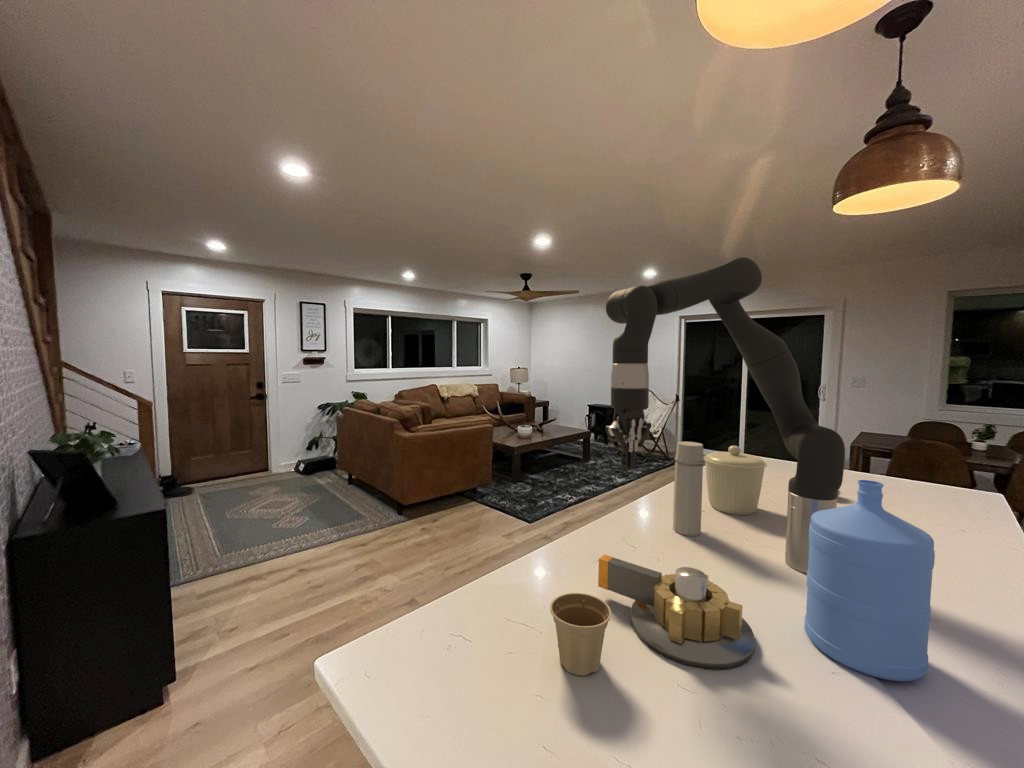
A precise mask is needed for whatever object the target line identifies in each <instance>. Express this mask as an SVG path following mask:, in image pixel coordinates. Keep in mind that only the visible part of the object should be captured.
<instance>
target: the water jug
mask: <svg viewBox="0 0 1024 768" xmlns="http://www.w3.org/2000/svg"><path fill="white" fill-rule="evenodd" d="M857 483H858V489H857V492H856V493H857V494H856V495H857V501H856V503H854V504H852V505H851V504H850V505H845V506H840V507H837V508H833V509H827V510H821V511H817V512H815V513H814V514H813V515H812V516H811V523H810V527H809V540H810V543H809V564H808V571H807V574H806V586H807V590H806V609H805V610H806V612H805V615H804V632H805V634H806V635H807V638H808V639H809V640H810V641H811V643H812V644H814V646H816V648H818V649H819V650H820V651H821V652H822V653H824V654H825V655H826V656H828V657H829V658H830V659H832V660H834V661H836V662H837V663H838V664H841V665H843V666H845V667H847V668H849V669H852V670H854V671H857V672H860V673H862V674H865V675H867V676H871V677H874V678H876V679H877V678H878V679H882V680H887V681H893V682H894V681H895V682H909V681H910V682H912V681H915V680H919V679H921V678H922V677H924V676H925V675H926V674H927V672H928V668H929V655H928V648H929V630H930V623H931V611H932V610H931V607H932V606H931V600H932V599H931V598H932V594H931V593H932V586H933V583H932V582H933V570H934V568H935V567H934V566H935V559H936V555H935V554H936V553H935V552H936V551H935V540H934V539H933V537H932V536H931V535H930V533H927V531H925V530H923V529H921V528H919V527H917V526H916V525H914V524H912V523H910V522H908V521H906V520H904V519H902V518H900V517H899V516H897V515H894V514H893V513H891V512H889V511H886V509H884V508H883V507H884V506H883V499H884V494H883V487H884V484H883V483H882V482H879V481H875V480H867V479H859V480H858V481H857Z"/></svg>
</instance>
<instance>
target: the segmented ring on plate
mask: <svg viewBox="0 0 1024 768" xmlns="http://www.w3.org/2000/svg"><path fill="white" fill-rule="evenodd" d="M706 576H707V582H706V602H701V603H697V602H691V601H686V600H683V599H681V598H679V597H677V596H675V582H676V573H673V574H672V573H671V574H664V575H663V572H660V571H657V570H653V569H650V568H647V567H644V566H641V565H638V564H635V563H632V562H629V561H625V560H622V559H619V558H615V557H614V556H611V555H608V554H603V555H602V556H600V557H599V558H598V579H597V581H598V582H597V586H598V587H599V588H601V589H604V590H607V591H609V592H610V591H611V592H612V593H616V594H618V595H621V596H623V597H627V598H630V599H632V600H634V601H635V600H637V601H639V602H642V603H645V604H647V605H650V606H653V607H654V616H655V619H656V620H657V621H658V622H659V623H660V624H661V626H662V627H665V629H666V630H668V631H669V639H670V640H672V641H674V642H677V643H679V644H682V642H683V640H684V639H685V638H687V639H692V640H697V641H701V639H702V640H703V641H704V642H705V641H713V640H719V638H721V639H722V638H723V637H724V636H728V637H731V638H733V639H736V640H739V639H740V636H741V629H742V618H743V605H742V604H740V603H737V602H733V601H731V600H730V599H729V596H728V593H726V592H727V591H725V590H724V589H722V588H721V587H720V586H719V585H717V583H715V584H714V582H712V581H710V580H709V575H708V574H706Z"/></svg>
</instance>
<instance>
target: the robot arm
mask: <svg viewBox="0 0 1024 768" xmlns="http://www.w3.org/2000/svg"><path fill="white" fill-rule="evenodd" d="M762 281H763V275H762V271H761V269H760V267H759V266H758V264H757V263H756V262H755V260H752V259H751V258H749V257H745V256H740V257H736V258H733V259H730V260H728V261H726V262H725V263H723V264H721V265H718V266H716V267H713V268H711V269H707V270H705V271H700V272H697V273H693V274H692V273H691V274H689V275H683V276H679V277H675V278H668V279H664V280H660V281H657V282H653V283H651V284H648V285H636V286H630V287H627V288H623V289H620V290H616V291H615V292H613V293H611V295H610V296H608V297H607V298H608V299H607V300H606V303H605V313H606V315H607V316H608V318H609V319H610V320H611V321H613V322H615V323H617V324H623V325H624V324H625V327H624V330H623V332H622V333H620V334H619V335H617V336H616V337H614V339H613V342H612V366H611V367H612V368H611V374H610V407H611V408H612V409H614V414H613V417H612V419H613V420H612V421H613V422H612V423H611V424H610V425H606V426H605V428H604V430H605V432H606V434H607V437H608V438H609V440H610V442H611V443H612V445H613V447H614V448H615V449H617V450H619V451H621V468H622V469H623V470H626V471H631V470H634V469H636V458H637V457H636V452H637V451H638V450H639V448H643V446H644V443H645V441H646V439H647V437H648V434H649V432H650V430H651V428H652V423H651V422H649V421H647V420H646V419H645V415H646V414H645V412H644V410H645V411H646V410H647V409H649V407H650V406H649V404H650V403H649V399H650V392H649V391H650V390H649V389H650V388H649V387H650V372H649V364H648V363H649V343H650V338H651V335H652V332H653V329H654V325H655V321H656V317H657V316H662V315H668V314H671V313H676V312H678V311H682V310H683V311H684V310H685V309H688V308H690V307H693V306H696V305H699V304H700V303H703V302H705V301H709V303H710V305H711V306H712V308H713V309H714V311H715V313H716V314H717V316H718V317H719V318H720V320H721V321H722V323H723V325H724V326H725V327H726V329H727V332H729V334H730V337H731V338H732V340H733V342H734V343H735V346H736V347H737V349H738V351H739V352H740V354H741V357H742V359H743V361H744V364H745V366H746V367H747V369H748V371H749V373H750V375H751V377H752V379H753V381H754V383H755V385H756V386H757V388H758V390H759V392H760V394H761V395H762V396H763V399H764V401H765V402H766V404H767V405H768V408H769V409H770V410H771V413H772V415H773V416H774V419H775V421H776V424H777V427H778V429H779V432H780V435H781V438H782V441H783V443H784V446H785V448H786V450H787V451H788V453H789V454H790V455H791V456H792V457H793V458H795V459H796V460H797V462H796V469H795V471H796V472H795V475H794V476H793V477H790V479H789V480H788V484H787V485H788V489H787V490H788V491H787V492H788V493H787V512H786V514H787V515H786V530H785V531H786V534H785V535H786V536H785V537H786V538H785V553H784V554H785V555H784V556H785V558H784V562H785V564H786V565H787V566H788V567H790V568H791V569H793V570H796V571H798V572H800V573H803V574H806V575H807V571H808V564H809V543H810V540H809V527H810V523H811V516H812V515H813V514H814V513H815V512H817V511H821V510H827V509H833V508H838V507H837V506H838V505H837V504H838V492H839V490H840V489H841V487H842V484H843V481H844V480H843V479H844V472H845V471H844V470H845V462H846V461H845V460H846V448H845V447H846V446H845V442H844V439H843V438H842V436H841V435H840V434H839V433H838V432H837V431H835V430H834V429H831V428H829V427H825V426H822V425H819V423H818V422H817V421H816V420H815V418H814V417H813V415H812V412H811V411H810V409H809V408H808V406H807V404H806V402H805V400H804V397H803V390H802V381H801V376H800V375H801V374H800V371H799V368H798V364H797V362H796V361H795V359H794V357H793V355H792V352H791V351H790V349H789V347H788V345H787V343H785V341H784V340H783V339H782V338H781V337H779V336H778V335H777V334H775V333H773V331H771V330H768V329H767V328H766V327H764V326H762V325H761V324H759V323H758V322H757V321H755V320H754V319H753V318H751V317H750V315H749V314H748V313H747V311H746V310H745V309H744V308H743V306H742V304H741V302H740V300H743V299H745V298H747V297H748V296H750V295H752V294H754V293H755V292H757V291H758V289H759V288H760V286H761V284H762V283H763V282H762Z"/></svg>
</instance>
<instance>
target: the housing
mask: <svg viewBox="0 0 1024 768" xmlns="http://www.w3.org/2000/svg"><path fill="white" fill-rule="evenodd" d="M675 574H676V582H675V596H677V597H679V598H681V599H683V600H686V601H691V602H697V603H701V602H706V582H707V576H706V575H707V574H706V573H705V572H703V571H702V570H700V569H698V568H693V567H689V566H688V567H687V566H682V567H678V568H676V570H675ZM630 607H631V608H630V623H631V624H630V625H631V627H632V630H633V631H634V633H635V635H636V636H637V638H638V639H640V641H642V643H644V644H645V645H646V646H647V647H648V648H650V649H651V650H652V651H654V652H655V653H657V654H659V655H660V656H663V657H664V658H666V659H668V660H669V661H670V660H671V661H672V662H675V663H678V664H681V665H684V666H687V667H692V668H695V669H701V670H709V671H727V670H732V669H736V668H740V667H742V666H743V665H745V664H747V663H748V662H749V661H750V660H751V659H752V658H753V655H754V653H755V642H756V641H755V634H754V631H753V629H752V628H751V626H750V624H749V623H748V622H747V620H745V619H744V618H743V617H742V629H741V636H740V639H739V640H736V639H733V638H731V637H728V636H724V637H723V638H722V639H721V638H719V640H713V641H705V642H704V641H703V640H702V639H701V641H697V640H692V639H687V638H685V639H684V640H683V642H682V644H679V643H677V642H674V641H672V640H670V639H669V631H668V630H666V629H665V627H662V626H661V624H660V623H659V622H658V621H657V620H656V619H655V616H654V607H653V606H650V605H647V604H645V603H642V602H639V601H637V600H634V601H633V603H632V605H631V606H630Z"/></svg>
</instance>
